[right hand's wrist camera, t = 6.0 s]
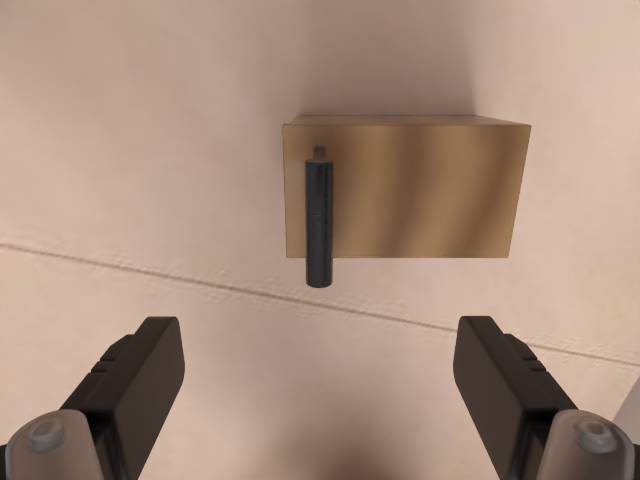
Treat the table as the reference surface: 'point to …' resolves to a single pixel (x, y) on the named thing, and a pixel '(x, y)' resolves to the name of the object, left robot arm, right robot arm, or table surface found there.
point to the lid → (400, 191)
